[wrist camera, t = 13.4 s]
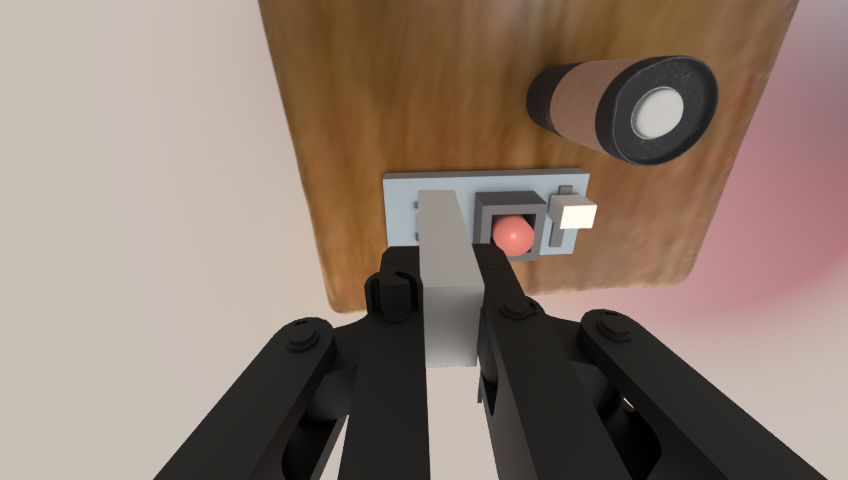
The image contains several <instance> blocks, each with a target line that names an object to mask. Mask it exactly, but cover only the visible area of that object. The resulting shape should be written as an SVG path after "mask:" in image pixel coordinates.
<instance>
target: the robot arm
mask: <svg viewBox="0 0 848 480" xmlns="http://www.w3.org/2000/svg"><path fill="white" fill-rule="evenodd" d="M418 225H419V246H390V247H389V248H388V249H387V250H386V251H385V252H384V253H383V254H382V260H381V266H380V272H377V273H375V274H373V275H372V276H371V277H369V278H368V279H367V281H366V283H365V285H364V288H365V296H366V305H367V313H368V314H367V315H366V316H365V317H364V318H362V319H360V320H358V321H357V322H354V323H351V324H348V325H345V326H341V327H337V328H333V327H332V325H331V324H330V323H329V322H328V321H327V320H323V319H321V318H318V317H315V318H314V317H308V318H307V317H306V318H303V319H298V320H295V321H293V322H291V323H289V324H287V325H285V326H283V327H282V328H281V329H280V330H279V331H278V332H277V333H275V335H274V336H273V337H272V338H271V339H270V341H269V342H268V343H267V344H266V345H265V347H264V348H263V349H262V350H261V351H260V352H259V354H258V355H257V356H256V357H255V358H254V360H253V361H252V362H251V363H250V364H249V366H248V367H247V368H246V369H245V371H244V372H243V373H242V374H241V375H240V376H239V378H238V379H237V380H236V381H235V382H234V383H233V385H232V386H231V387H230V388H229V390H228V391H227V392H226V393H225V395H223V397H222V398H221V399H220V400H219V402H218V403H217V404H216V405H215V406H214V407H213V409H212V410H211V411H210V412H209V413H208V414H207V416H206V417H205V418H204V419H203V420H202V422H201V423H200V424H199V425H198V427H197V428H196V429H195V430H194V431H193V432H192V434H191V435H190V436H189V437H188V438H187V440H186V441H185V442H184V443H183V444H182V445H181V447H180V448H179V449H178V450H177V452H176V453H175V454H174V455H173V456H172V458H171V459H170V460H169V461H168V462H167V463H166V465H165V466H164V467H163V468H162V470H161V471H160V472H159V473H158V474H157V475H156V477H155V478H154V479H153V480H319V479H320V477H321V475H322V472H323V470H324V468H325V466H326V463H327V461H328V459H329V457H330V454H331V452H332V450H333V448H334V445H335V443H336V441H337V438H338V436H339V434H340V432H341V429H342V427H343V425H344V423H345V420H346V417H347V415H349V419H348V424H347V430H346V435H345V441H344V446H343V452H342V457H341V463H340V468H339V474H338V479H337V480H430V457H429V432H428V410H427V409H428V408H427V386H426V385H427V384H426V368H430V367H464V366H465V367H467V366H476V365H477V356H478V357H479V361H480V367H481V371H480V379H479V388H478V403H482V398H483V403H484V408H485V413H486V418H487V423H488V428H489V433H490V438H491V443H492V448H493V453H494V457H495V463H496V468H497V473H498V478H499V480H827V479H826V478H825V477H824V476H823V475H821V474H820V473H819V472H818V471H816V470H815V469H814V468H813V467H812V466H810V465H809V464H808V463H807V462H806V461H805V460H803V459H802V458H801V457H800V456H798V455H797V454H796V453H795V452H793V451H792V450H791V449H790V448H789V447H788V446H786V445H785V444H784V443H783V442H782V441H780V440H779V439H778V438H777V437H775V436H774V435H773V434H772V433H771V432H769V431H768V430H767V429H766V428H765V427H763V426H762V425H761V424H760V423H759V422H757V421H756V420H755V419H754V418H752V417H751V416H750V415H749V414H748V413H746V412H745V411H744V410H743V409H742V408H740V407H739V406H738V405H737V404H736V403H734V402H733V401H732V400H731V399H729V398H728V397H727V396H726V395H725V394H723V393H722V392H721V391H720V390H719V389H717V388H716V387H715V386H714V385H713V384H711V383H710V382H709V381H708V380H707V379H705V378H704V377H703V376H702V375H700V374H699V373H698V372H697V371H696V370H694V369H693V368H692V367H691V366H689V365H688V364H687V363H686V362H685V361H683V360H682V359H681V358H680V357H678V356H677V355H676V354H675V353H674V352H673V351H671V350H670V349H669V348H668V347H666V346H665V345H664V344H663V343H661V341H659V340H658V339H657V338H656V337H654V336H653V335H652V334H651V333H650V332H648V331H647V330H646V329H645V328H644V327H642V326H641V325H640V324H639V323H637V322H636V321H634V320H633V319H631V318H630V317H628V316H626V315H623V314H621V313H618V312H616V311H611V310H605V309H597V310H596V309H595V310H591V311H589V312H586V313H585V314H584V316H583V317H582V319H581V322H575V321H570V320H565V319H560V318H556V317H552V316H549V315H547V314H545V312H544V310H543V308H542V307H541V306H540V305H539V303H538V302H536V301H535V300H533V299H532V298H530V297H528V296H525V294H524V292H523V290H522V288H521V286H520V284H519V282H518V280H517V278H516V275H515V273H514V271H513V269H512V267H511V265H510V263H509V262H508V259H507V257H506V255H505V252H504V251H503V250H502V249H501V248H499V247H498V246H497V245H496V244H494V243H476V244H471V241H470V238H469V235H468V232H467V229H466V225H465V222H464V219H463V216H462V213H461V210H460V206H459V203H458V200H457V197H456V194H455V191H454V190H418ZM624 398H626V399H627V401H628V402H629V403H630V404H631V405H632V406H633V407H634V408H632V407H631V406H630V405H629V404H628V403H627V402H626V401H625V400H624Z"/></svg>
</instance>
